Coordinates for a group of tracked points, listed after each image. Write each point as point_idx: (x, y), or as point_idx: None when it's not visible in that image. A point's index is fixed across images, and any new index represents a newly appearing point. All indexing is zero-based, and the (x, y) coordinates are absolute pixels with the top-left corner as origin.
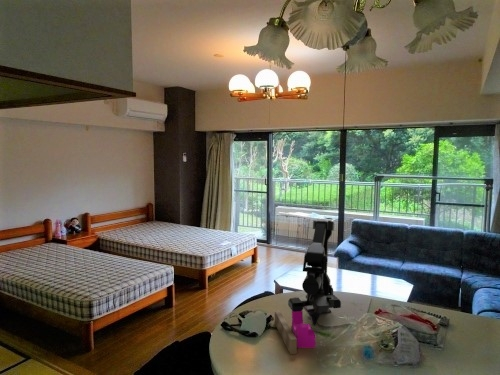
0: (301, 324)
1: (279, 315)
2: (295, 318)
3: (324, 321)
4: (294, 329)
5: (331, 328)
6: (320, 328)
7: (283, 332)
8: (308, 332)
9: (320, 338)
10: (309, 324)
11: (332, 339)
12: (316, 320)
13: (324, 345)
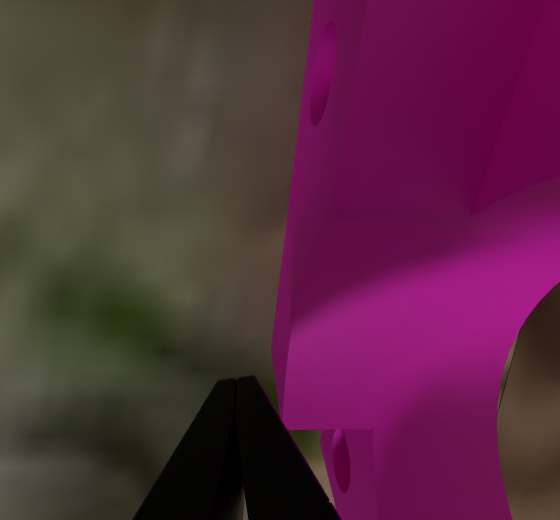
0: None
1: None
2: (478, 512)
3: (74, 514)
4: (520, 325)
5: (7, 414)
6: (136, 412)
7: None
8: (483, 88)
9: (178, 223)
10: (292, 419)
11: (12, 187)
12: (198, 458)
13: (157, 29)
